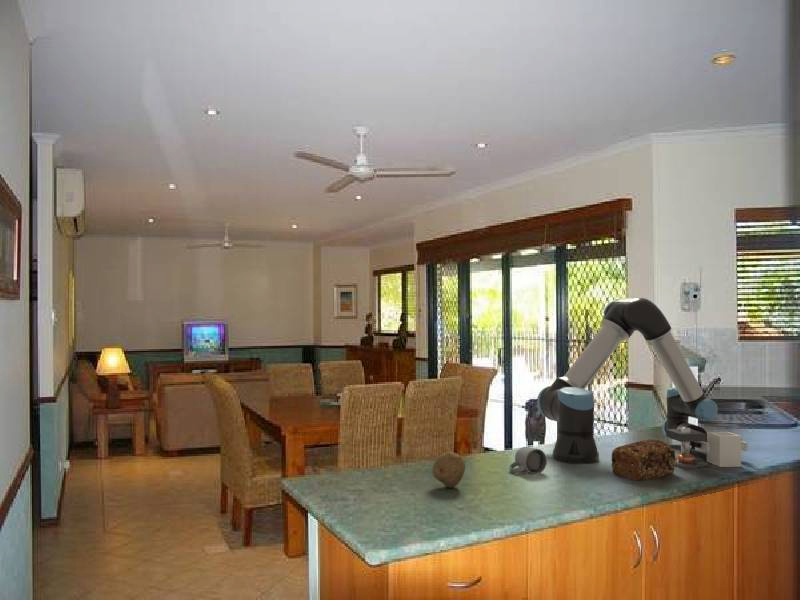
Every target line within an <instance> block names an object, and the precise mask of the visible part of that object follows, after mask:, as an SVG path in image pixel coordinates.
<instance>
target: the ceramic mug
mask: <svg viewBox="0 0 800 600" xmlns="http://www.w3.org/2000/svg"><path fill="white" fill-rule="evenodd" d="M547 464H548V459H547V455H546V453H545V451H543V450H542V449H540V448H535V447H532V446H523V447H520V448H519V449H518V450H516V452H515V455H514V462H512V463H511V464H509V466H508V469H509V472H510V473H511V474H518V473H521V472H523V471H524V472H525V471H526V472H527V473H529V474H531V475H539V474H541V473H542V472H544V470H546V467H547Z"/></svg>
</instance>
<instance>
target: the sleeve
mask: <svg viewBox="0 0 800 600" xmlns="http://www.w3.org/2000/svg"><path fill="white" fill-rule="evenodd" d="M706 432H707V443H709V452H706V463H708V462H709V464H711V463H712V464H711V465H713V464H714V465H713V466H716V465H717V466H716V467H718V466H719V468H739V467H740V468H741V467H742V450H741V439H742V435H740V434H736V433H733V432H729V431H706Z"/></svg>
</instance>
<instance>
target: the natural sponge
mask: <svg viewBox="0 0 800 600" xmlns="http://www.w3.org/2000/svg"><path fill="white" fill-rule="evenodd" d="M465 471H466V463H465V460H464V459H463V457H462V456H461V455H460V454H459V453H456V452H453V451H445V452H443V453H441V454H440V455H438V456H437V458H436V460H435V461H434V464H433V466H432V475H433V477H434V479H436V480H437V481H439V482H440V483H442V484H443V485H444V486H445V487H447V488H449V489H450V488H451V489H452V488H454V487H457V486H458V484H459V483H460V482H461V481H462V479H463V477H464V474H465Z"/></svg>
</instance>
